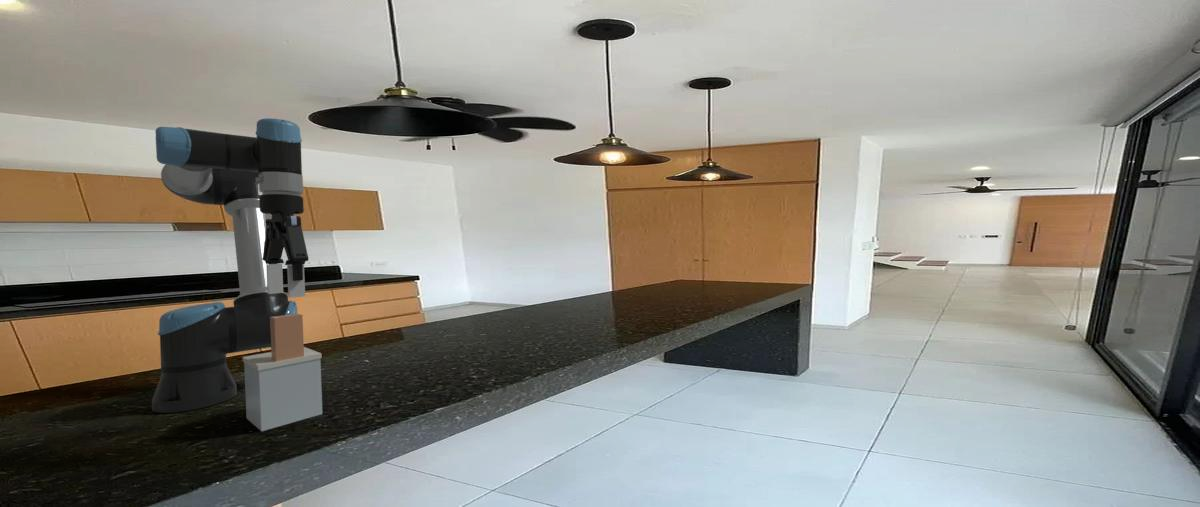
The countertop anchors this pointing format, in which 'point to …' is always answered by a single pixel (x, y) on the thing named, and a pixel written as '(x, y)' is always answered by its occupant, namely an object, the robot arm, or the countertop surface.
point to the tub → (283, 394)
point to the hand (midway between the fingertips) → (285, 295)
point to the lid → (284, 344)
